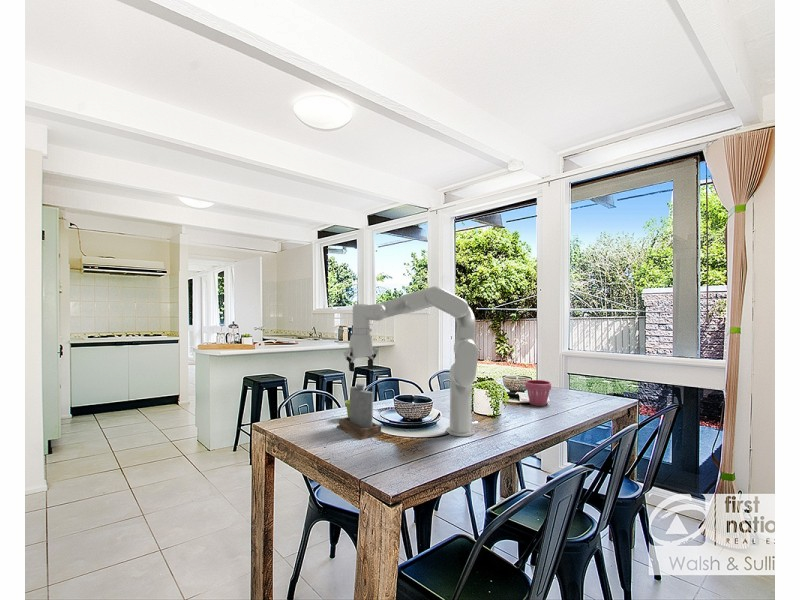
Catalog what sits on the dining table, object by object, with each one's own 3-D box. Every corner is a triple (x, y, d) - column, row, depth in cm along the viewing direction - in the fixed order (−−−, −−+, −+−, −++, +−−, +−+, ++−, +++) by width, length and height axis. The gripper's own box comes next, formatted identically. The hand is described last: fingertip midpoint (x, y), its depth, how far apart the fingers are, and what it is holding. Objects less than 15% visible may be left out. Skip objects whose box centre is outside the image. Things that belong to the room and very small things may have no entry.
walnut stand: (359, 423, 202) (359, 415, 202) (383, 434, 186) (383, 425, 186) (336, 427, 195) (336, 419, 195) (359, 439, 179) (360, 430, 179)
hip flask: (373, 432, 185) (374, 386, 185) (365, 434, 183) (366, 387, 183) (354, 423, 198) (354, 380, 198) (346, 425, 195) (347, 381, 195)
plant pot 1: (341, 420, 206) (341, 402, 206) (349, 415, 215) (349, 398, 215) (358, 422, 203) (359, 404, 203) (366, 417, 212) (366, 400, 212)
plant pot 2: (520, 401, 251) (520, 379, 251) (542, 400, 254) (542, 379, 254) (533, 407, 237) (533, 384, 237) (555, 406, 240) (556, 383, 240)
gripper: (372, 330, 198) (372, 367, 198) (339, 332, 188) (339, 371, 188) (381, 331, 192) (381, 369, 192) (348, 333, 182) (348, 373, 182)
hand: (361, 370), depth 190 cm, fingers open, 9 cm apart
